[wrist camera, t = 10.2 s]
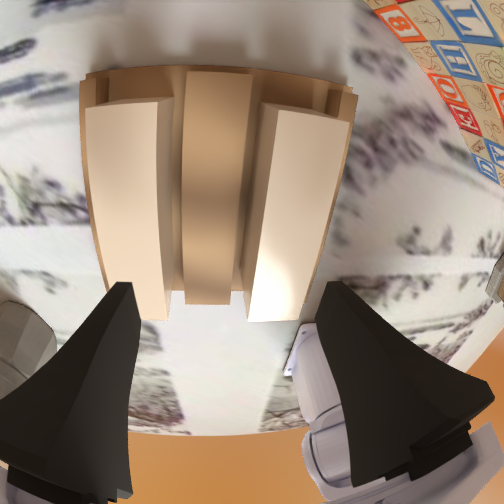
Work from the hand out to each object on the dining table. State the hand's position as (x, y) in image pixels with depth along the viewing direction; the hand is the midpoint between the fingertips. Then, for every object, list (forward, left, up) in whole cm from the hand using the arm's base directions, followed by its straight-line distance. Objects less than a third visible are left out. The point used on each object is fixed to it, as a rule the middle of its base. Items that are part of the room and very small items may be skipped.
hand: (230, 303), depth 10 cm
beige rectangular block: (+1, +5, -9) cm, 10 cm away
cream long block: (0, -3, -9) cm, 10 cm away
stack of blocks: (+14, -16, -10) cm, 24 cm away
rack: (0, +1, -10) cm, 10 cm away
